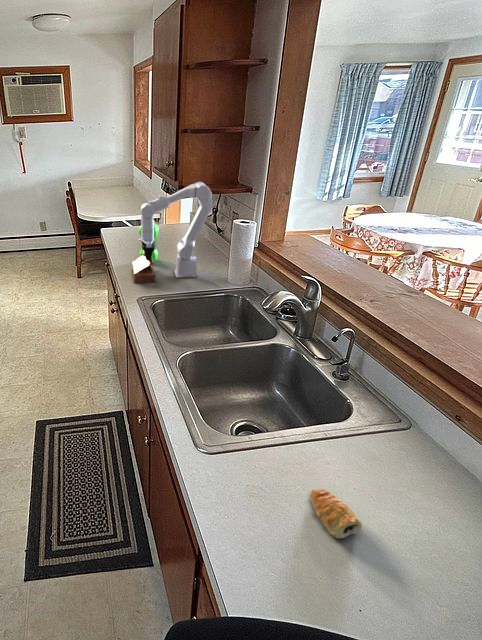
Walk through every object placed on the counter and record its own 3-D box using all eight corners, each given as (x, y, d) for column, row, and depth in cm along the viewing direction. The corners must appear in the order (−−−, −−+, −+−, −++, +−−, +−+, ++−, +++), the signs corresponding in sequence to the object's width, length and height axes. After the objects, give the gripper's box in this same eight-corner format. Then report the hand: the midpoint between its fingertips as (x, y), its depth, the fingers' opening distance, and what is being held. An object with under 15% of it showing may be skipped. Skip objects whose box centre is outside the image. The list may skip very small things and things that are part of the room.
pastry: (300, 499, 81) (303, 486, 80) (326, 490, 83) (330, 477, 81) (335, 543, 73) (339, 529, 72) (364, 532, 75) (369, 518, 73)
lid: (150, 251, 193) (145, 244, 192) (153, 263, 179) (148, 255, 177) (133, 262, 196) (127, 255, 194) (134, 275, 181) (129, 267, 180)
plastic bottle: (136, 258, 211) (135, 213, 201) (154, 256, 214) (154, 211, 204) (143, 265, 202) (143, 218, 192) (162, 262, 205) (162, 215, 195)
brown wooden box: (151, 269, 197) (151, 262, 195) (154, 282, 183) (154, 274, 181) (132, 270, 197) (132, 263, 196) (134, 282, 183) (134, 275, 181)
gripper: (137, 225, 187) (138, 252, 193) (139, 234, 174) (140, 263, 179) (152, 224, 187) (152, 251, 192) (155, 234, 174) (155, 262, 179)
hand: (147, 257), depth 186 cm, fingers open, 7 cm apart
